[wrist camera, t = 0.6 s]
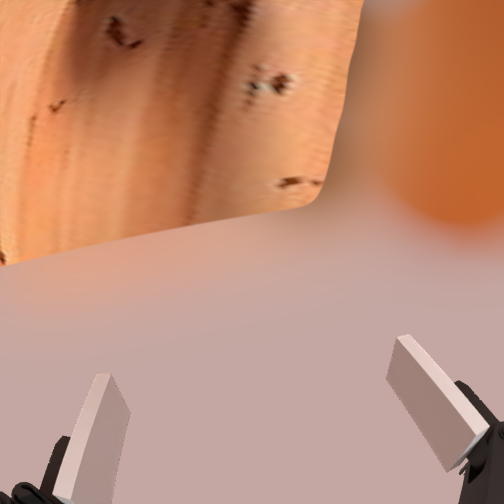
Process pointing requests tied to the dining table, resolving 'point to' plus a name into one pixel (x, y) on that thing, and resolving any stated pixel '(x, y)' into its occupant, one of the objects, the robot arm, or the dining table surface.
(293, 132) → the dining table surface
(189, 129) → the dining table surface
